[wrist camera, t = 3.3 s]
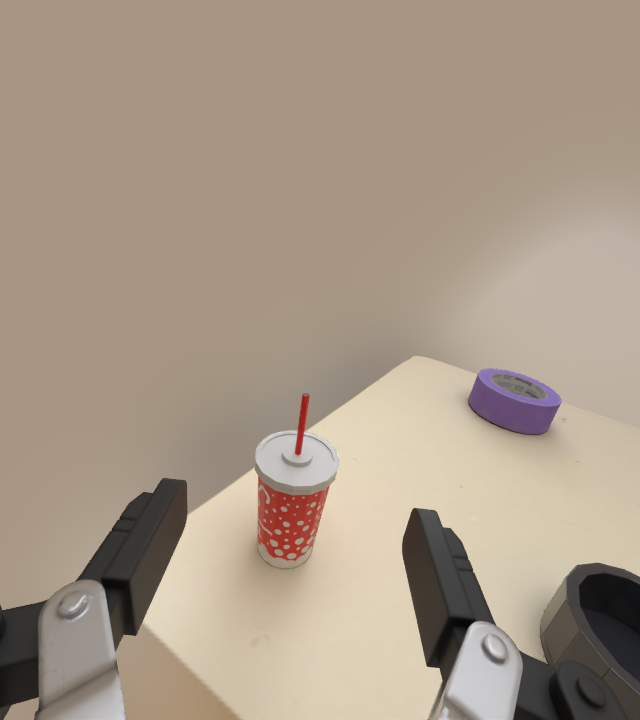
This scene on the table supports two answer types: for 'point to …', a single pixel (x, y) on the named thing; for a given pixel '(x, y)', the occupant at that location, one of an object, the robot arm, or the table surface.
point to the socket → (598, 628)
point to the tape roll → (514, 401)
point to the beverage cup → (292, 491)
